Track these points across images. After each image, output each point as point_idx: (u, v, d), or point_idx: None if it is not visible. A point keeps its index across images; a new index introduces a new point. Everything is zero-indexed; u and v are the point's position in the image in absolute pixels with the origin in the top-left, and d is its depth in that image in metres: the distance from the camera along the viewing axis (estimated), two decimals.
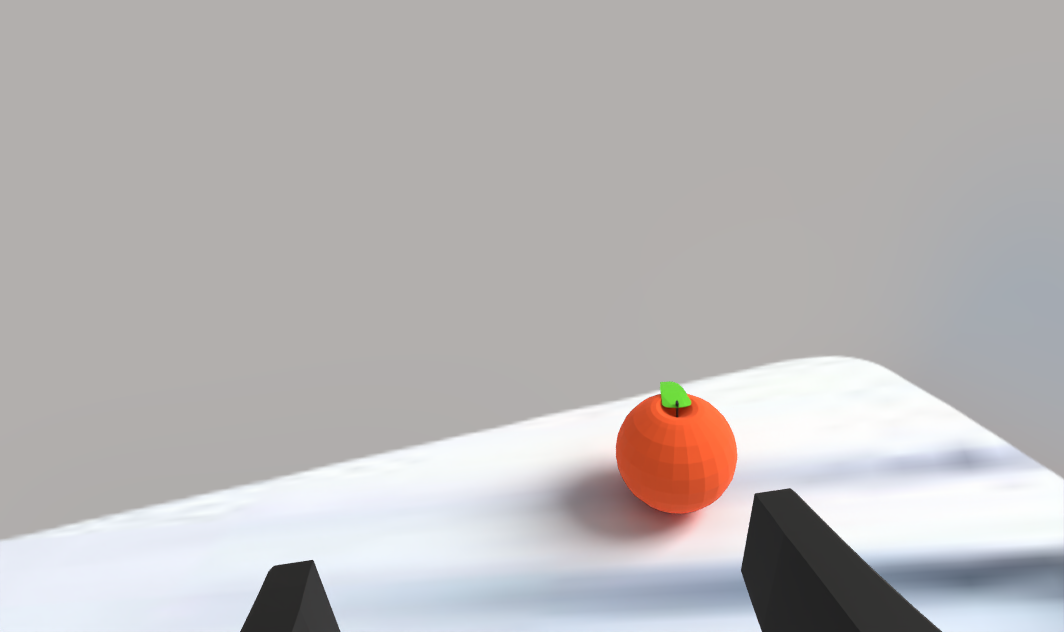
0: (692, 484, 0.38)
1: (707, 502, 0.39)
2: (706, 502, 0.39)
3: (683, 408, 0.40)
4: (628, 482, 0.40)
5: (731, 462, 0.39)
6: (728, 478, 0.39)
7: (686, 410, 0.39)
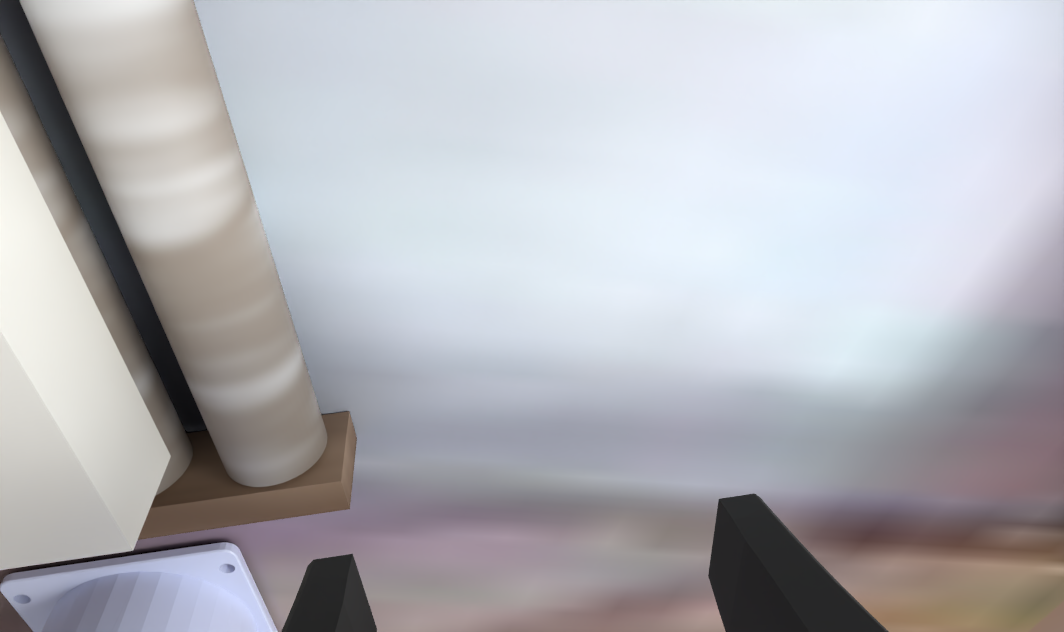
0: None
1: None
2: None
3: None
4: None
5: None
6: None
7: None
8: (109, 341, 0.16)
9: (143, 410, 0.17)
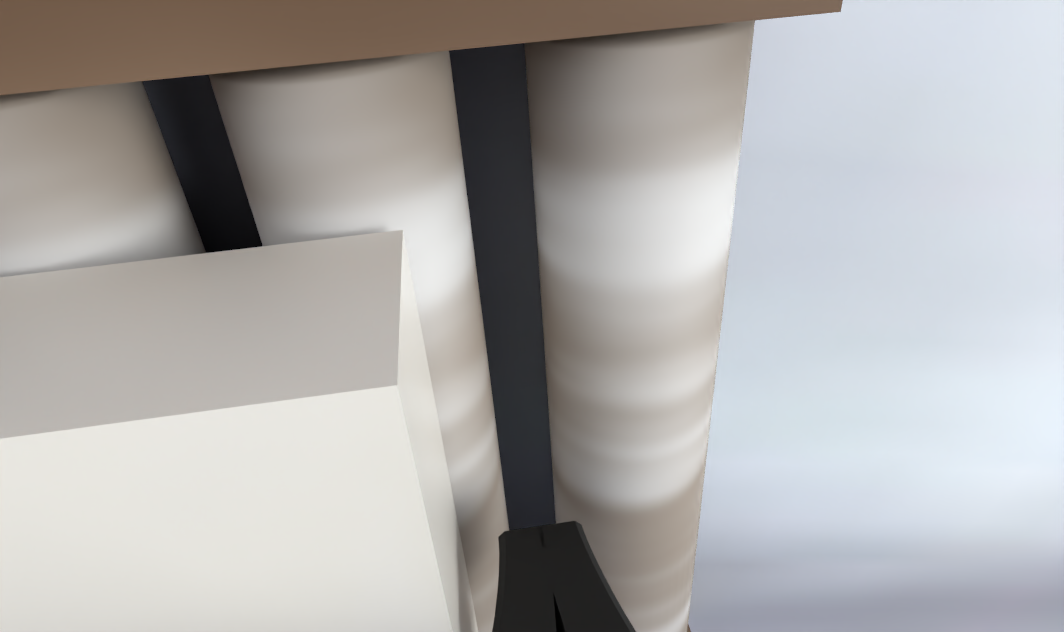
0: None
1: None
2: None
3: None
4: None
5: None
6: None
7: None
8: (475, 620, 0.13)
9: None
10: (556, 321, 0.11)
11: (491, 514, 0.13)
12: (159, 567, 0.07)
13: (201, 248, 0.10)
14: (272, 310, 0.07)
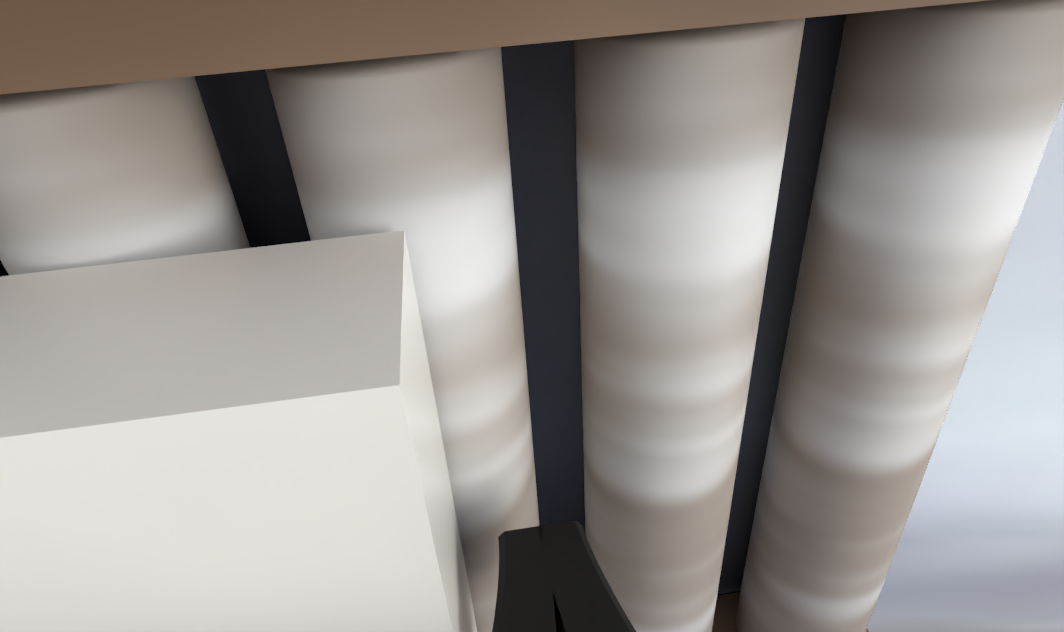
0: None
1: None
2: None
3: None
4: None
5: None
6: None
7: None
8: (474, 621, 0.13)
9: None
10: (838, 286, 0.11)
11: (733, 478, 0.13)
12: (159, 566, 0.07)
13: None
14: (274, 310, 0.07)
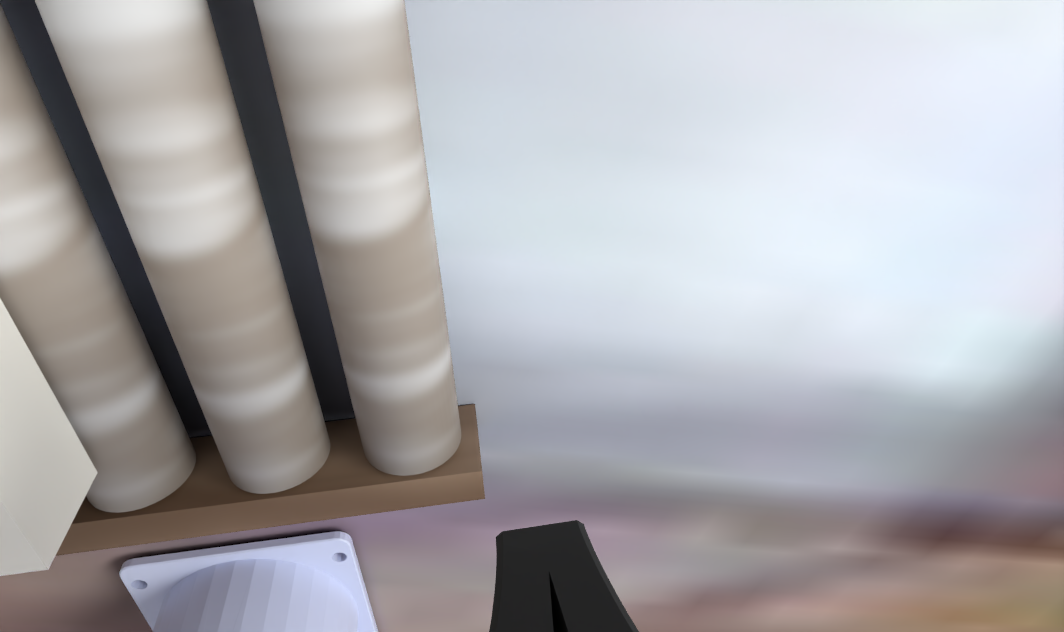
0: None
1: None
2: None
3: None
4: None
5: None
6: None
7: None
8: (27, 359, 0.16)
9: (66, 427, 0.17)
10: (272, 70, 0.15)
11: (249, 250, 0.16)
12: None
13: None
14: None
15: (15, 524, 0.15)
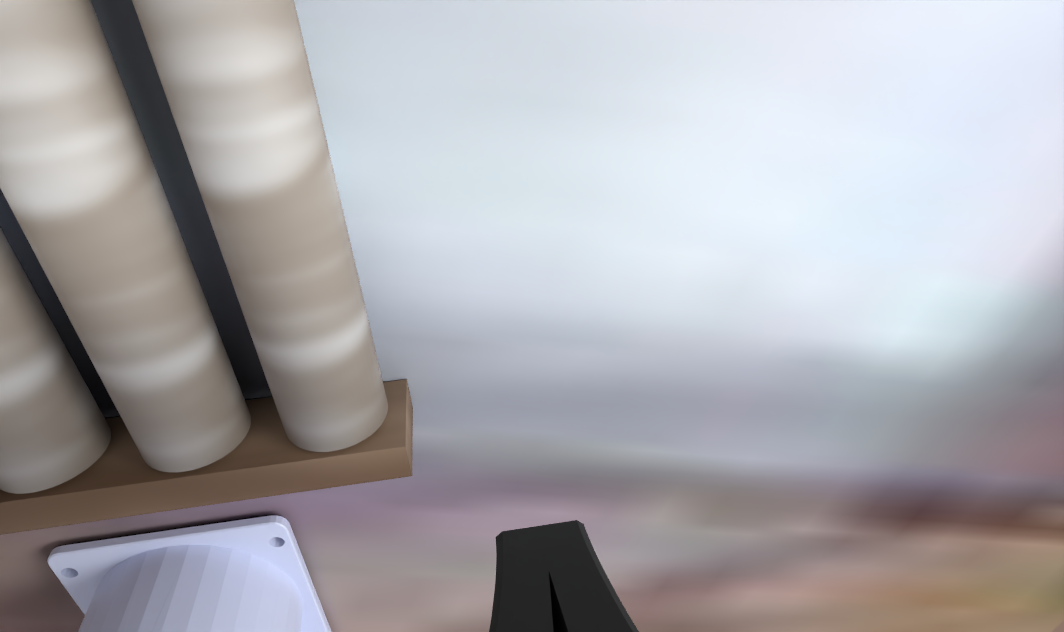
0: None
1: None
2: None
3: None
4: None
5: None
6: None
7: None
8: None
9: None
10: (136, 11, 0.14)
11: (132, 210, 0.15)
12: None
13: None
14: None
15: None
